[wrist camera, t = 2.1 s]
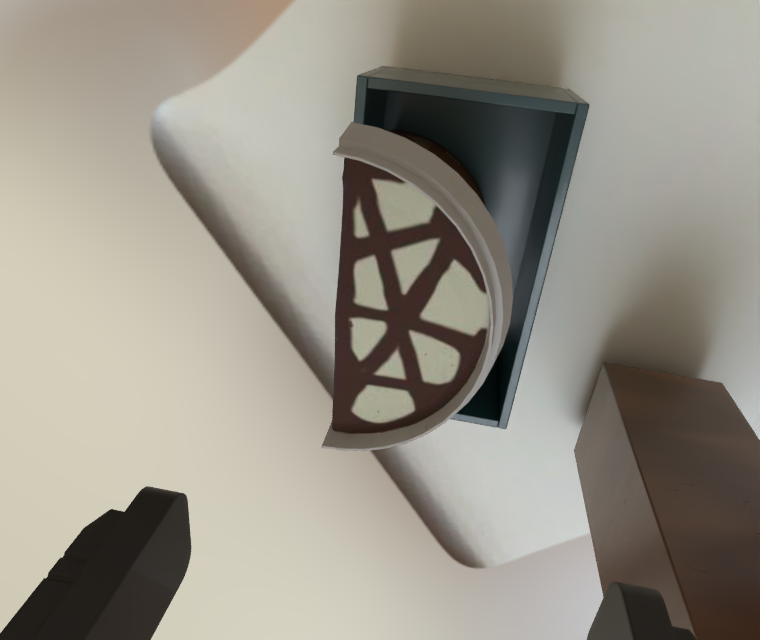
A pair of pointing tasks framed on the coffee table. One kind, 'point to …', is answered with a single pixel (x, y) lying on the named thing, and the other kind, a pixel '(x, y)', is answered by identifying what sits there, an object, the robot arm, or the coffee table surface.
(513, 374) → the teal open box
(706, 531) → the pillar
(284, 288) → the coffee table surface
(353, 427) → the food container
